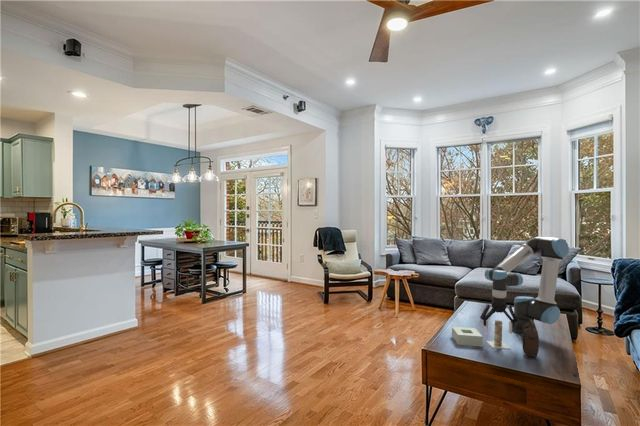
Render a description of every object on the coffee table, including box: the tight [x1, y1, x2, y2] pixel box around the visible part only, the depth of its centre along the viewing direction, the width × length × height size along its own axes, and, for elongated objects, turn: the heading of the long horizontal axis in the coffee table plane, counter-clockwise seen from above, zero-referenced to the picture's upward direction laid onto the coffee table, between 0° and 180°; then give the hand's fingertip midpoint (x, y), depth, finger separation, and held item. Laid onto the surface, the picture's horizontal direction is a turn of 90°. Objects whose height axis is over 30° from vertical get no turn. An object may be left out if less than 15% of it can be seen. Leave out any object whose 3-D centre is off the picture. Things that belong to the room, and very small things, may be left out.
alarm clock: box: [521, 320, 540, 360], centre depth 186 cm, size 15×7×20 cm, turn 153°
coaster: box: [485, 340, 511, 350], centre depth 200 cm, size 10×10×1 cm
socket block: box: [451, 326, 484, 347], centre depth 206 cm, size 14×14×6 cm
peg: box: [493, 319, 503, 346], centre depth 200 cm, size 4×4×14 cm
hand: (498, 332), depth 200 cm, fingers open, 13 cm apart
